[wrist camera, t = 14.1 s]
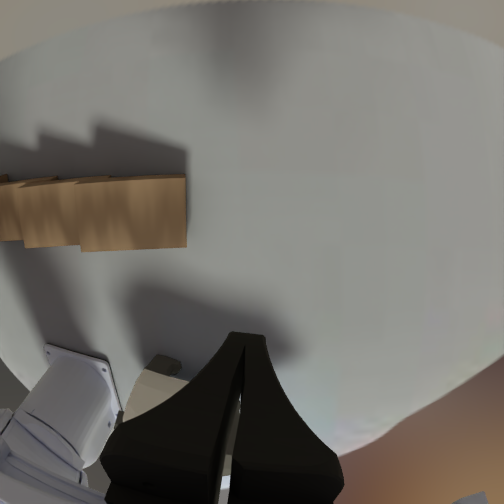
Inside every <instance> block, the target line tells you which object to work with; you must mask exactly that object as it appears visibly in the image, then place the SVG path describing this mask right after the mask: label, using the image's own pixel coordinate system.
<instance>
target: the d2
mask: <svg viewBox="0 0 504 504" xmlns="http://www.w3.org/2000/svg"><path fill="white" fill-rule="evenodd" d="M100 178H111V175H105V176H94V177H83V178H72V179H63V180H54V181H46V182H38V183H30V184H24V185H22V186H20V187H18V188H16V193H17V201H18V209H19V216H20V222H21V229H22V234H23V240H24V245H25V248H37V247H52V246H68V245H80V239H79V232H78V224H77V215H76V205H75V195H74V184H75V183H77V182H79V181H80V180H88V179H100Z"/></svg>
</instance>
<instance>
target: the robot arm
mask: <svg viewBox="0 0 504 504" xmlns="http://www.w3.org/2000/svg"><path fill="white" fill-rule="evenodd" d="M44 350H45V352H46V355H47V358H48V361H49V364H50V368H49V369H48V370H47V371H46V373H45V374H44V375H43V376H42V378H41V379H40V380H39V381H38V383H37V384H36V385H35V387H34V388H33V389H32V391H31V392H30V393H29V395H28V396H27V397H26V398H25V400H24V401H23V402H22V404H21V405H20V407H19V408H18V409H17V410H16V411H15V412H14V413H13V414H12V412H11V411H10V409H6V410H5V409H0V504H218V501H219V494H220V487H221V481H222V475H223V468H224V462H225V456H226V450H227V444H228V439H229V435H230V431H231V427H232V424H233V420H234V416H235V413H236V409H237V405H238V402H239V398H240V394H241V405H240V416H239V422H238V428H237V433H236V439H235V444H234V449H233V454H232V462H231V476H230V489H229V496H228V503H227V504H333V501H334V500H335V499H336V497H337V496H338V495H339V493H340V492H341V490H342V489H343V487H344V477H343V473H342V469H341V466H340V463H339V460H338V457H337V455H336V453H334V452H333V451H332V450H331V449H330V448H329V447H328V446H326V445H325V444H324V443H323V442H322V441H321V440H320V439H319V438H318V437H317V436H316V435H315V434H314V432H313V431H312V430H311V429H310V428H309V427H308V425H307V424H306V423H305V422H304V421H303V419H302V418H301V417H300V416H299V414H298V413H297V411H296V410H295V409H294V407H293V406H292V404H291V402H290V401H289V399H288V398H287V396H286V394H285V392H284V390H283V389H282V387H281V385H280V382H279V380H278V378H277V376H276V374H275V371H274V369H273V366H272V363H271V361H270V358H269V354H268V351H267V346H266V338H265V337H264V335H258V334H250V333H241V332H233V331H232V332H230V333H229V335H228V336H227V338H226V340H225V341H224V343H223V344H222V346H221V347H220V349H219V350H218V351H217V353H216V354H215V355H214V356H213V358H212V359H211V360H210V361H209V363H208V364H207V365H206V366H205V367H204V368H203V369H202V370H201V371H200V372H199V373H198V374H197V375H196V376H195V377H194V378H193V379H192V380H191V381H190V382H189V383H188V384H186V385H185V386H184V387H183V388H182V389H180V390H179V391H178V392H176V393H175V394H174V395H172V396H171V397H170V398H168V399H167V400H165V401H164V402H162V403H161V404H159V405H157V406H155V407H154V408H152V409H150V410H148V411H147V412H145V413H143V414H141V415H139V416H137V417H134V418H132V419H130V420H127V421H125V422H122V423H120V424H118V425H117V427H116V428H115V430H114V431H113V432H112V434H111V435H110V437H109V438H108V436H109V434H110V432H111V430H112V428H113V426H114V424H115V422H116V418H117V414H118V411H119V410H120V411H122V410H121V407H120V403H119V400H118V397H117V393H116V389H115V386H114V382H113V378H112V375H111V371H110V367H109V364H108V363H107V362H106V361H104V360H101V359H97V358H93V357H90V356H86V355H83V354H79V353H76V352H72V351H69V350H66V349H62V348H59V347H56V346H53V345H50V344H45V345H44ZM107 438H108V440H107ZM106 440H107V442H106ZM105 442H106V444H105ZM104 444H105V446H104ZM103 446H104V449H103ZM102 449H103V451H102ZM101 451H102V453H101ZM100 453H101V455H100ZM99 455H100V461H101V464H102V466H103V468H104V470H105V471H106V473H107V475H108V477H109V478H110V479H111V483H110V486H109V488H108V491H107V493H106V494H104V493H102V492H99V491H96V490H94V489H91V488H89V487H88V481H87V475H86V473H85V472H84V471H83V470H82V469H83V468H86V467H88V466H90V465H91V464H92V463H94V462H95V461H96V460H97V458H98V457H99ZM452 504H488V501H487V498H486V495H485V492H483V491H482V492H479V493H476V494H473V495H470V496H467V497H463V498H461V499H459V500H457V501H455V502H453V503H452Z"/></svg>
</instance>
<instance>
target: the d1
mask: <svg viewBox="0 0 504 504" xmlns="http://www.w3.org/2000/svg"><path fill="white" fill-rule="evenodd" d="M74 195H75V205H76V215H77V224H78V232H79V239H80V246H81V252H96V251H117V250H138V249H160V248H183V247H187V239H186V178H185V174H171V175H147V176H129V177H113V178H100V179H88V180H80V181H79V182H77V183H75V184H74Z"/></svg>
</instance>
